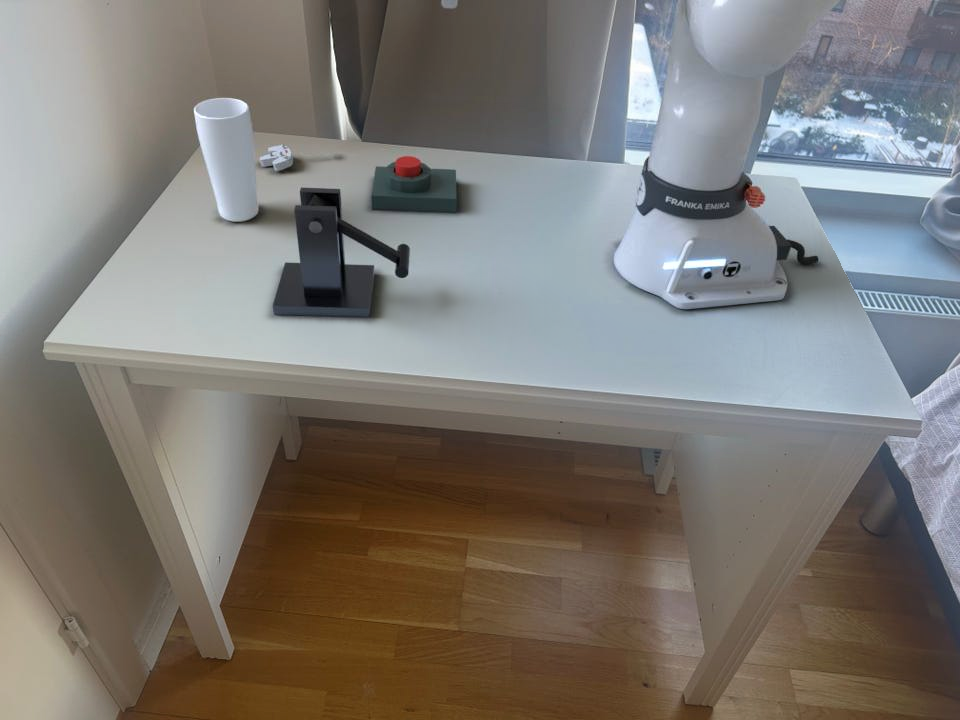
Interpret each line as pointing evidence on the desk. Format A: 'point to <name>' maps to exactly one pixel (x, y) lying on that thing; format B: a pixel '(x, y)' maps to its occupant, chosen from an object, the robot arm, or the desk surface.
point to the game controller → (278, 157)
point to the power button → (408, 166)
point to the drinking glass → (229, 155)
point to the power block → (414, 190)
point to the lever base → (322, 265)
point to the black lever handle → (372, 242)
